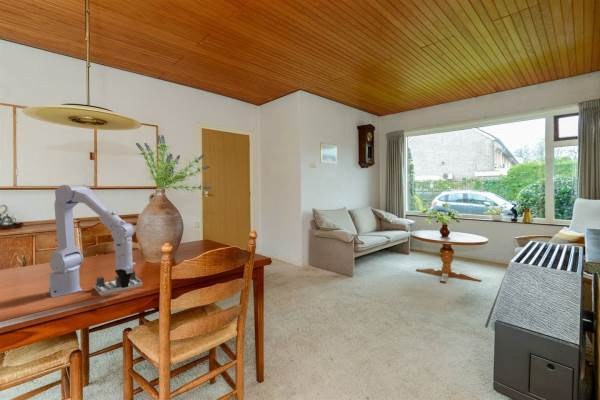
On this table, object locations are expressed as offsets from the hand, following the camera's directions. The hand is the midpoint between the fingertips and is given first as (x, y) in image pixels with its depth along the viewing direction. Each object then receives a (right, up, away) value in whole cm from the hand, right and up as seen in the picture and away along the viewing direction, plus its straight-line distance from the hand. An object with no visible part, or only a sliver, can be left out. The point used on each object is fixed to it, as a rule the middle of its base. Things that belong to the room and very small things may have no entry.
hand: (124, 286), depth 112 cm
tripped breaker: (-4, -1, +4) cm, 6 cm away
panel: (-7, -2, +6) cm, 10 cm away
